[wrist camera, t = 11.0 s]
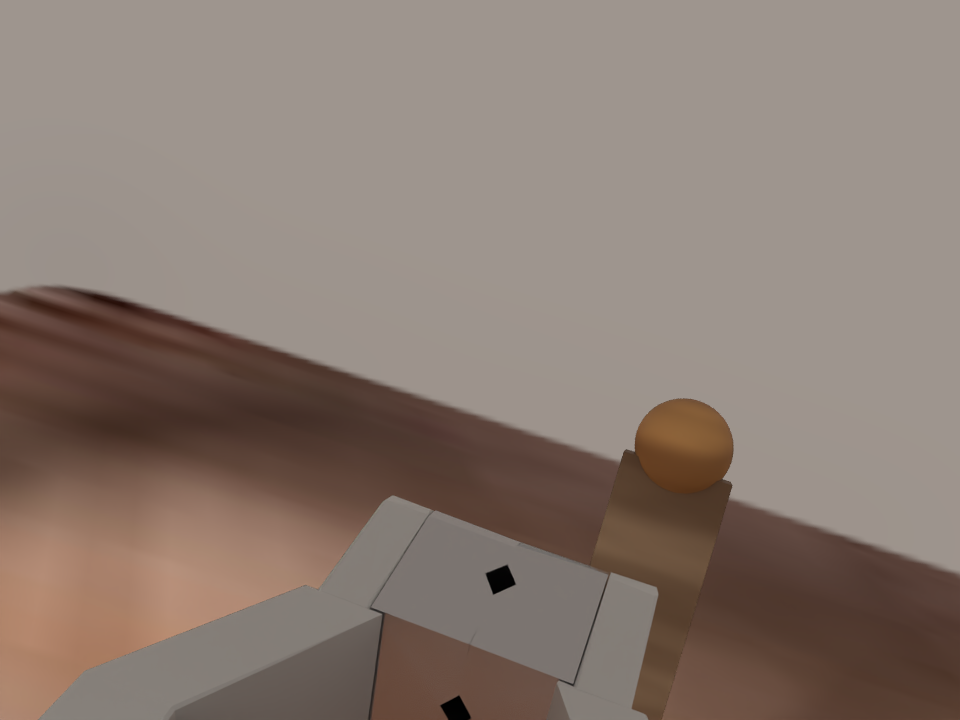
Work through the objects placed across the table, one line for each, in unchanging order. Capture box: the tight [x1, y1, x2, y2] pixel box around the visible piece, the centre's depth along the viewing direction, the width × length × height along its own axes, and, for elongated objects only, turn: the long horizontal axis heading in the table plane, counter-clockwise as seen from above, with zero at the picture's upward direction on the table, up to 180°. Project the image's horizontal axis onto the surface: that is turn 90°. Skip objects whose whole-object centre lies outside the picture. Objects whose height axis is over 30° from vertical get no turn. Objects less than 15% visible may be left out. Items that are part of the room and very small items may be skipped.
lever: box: [590, 399, 733, 720], centre depth 30 cm, size 3×4×20 cm
